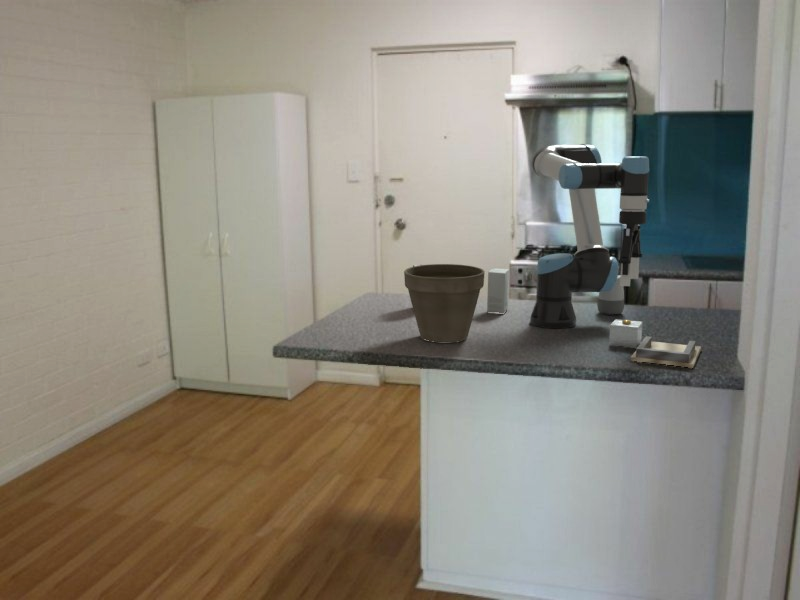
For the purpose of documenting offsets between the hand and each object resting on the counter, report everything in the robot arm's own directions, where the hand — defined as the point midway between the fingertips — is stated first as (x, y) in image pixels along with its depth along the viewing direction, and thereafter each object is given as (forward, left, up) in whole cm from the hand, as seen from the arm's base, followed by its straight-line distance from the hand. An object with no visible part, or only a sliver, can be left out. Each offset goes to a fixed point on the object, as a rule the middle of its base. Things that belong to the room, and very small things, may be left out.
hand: (629, 282), depth 214 cm
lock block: (0, 0, -19) cm, 19 cm away
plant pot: (-52, -18, -19) cm, 58 cm away
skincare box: (-50, +25, -19) cm, 59 cm away
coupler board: (+13, -9, -19) cm, 24 cm away
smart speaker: (-13, +40, -19) cm, 46 cm away
